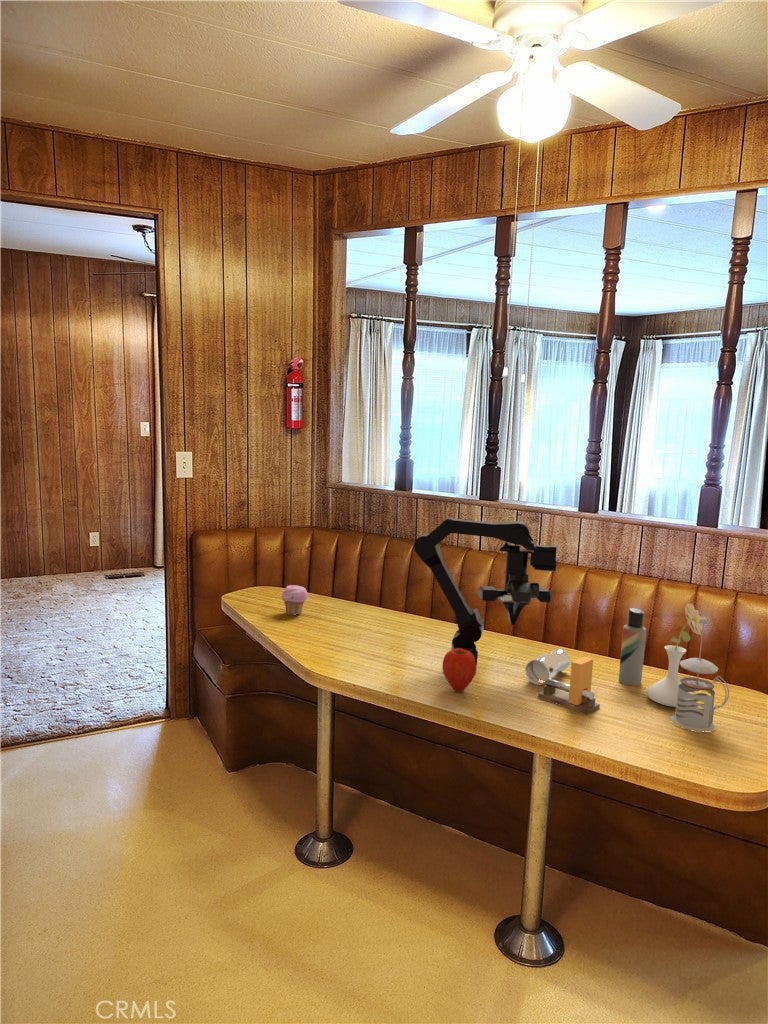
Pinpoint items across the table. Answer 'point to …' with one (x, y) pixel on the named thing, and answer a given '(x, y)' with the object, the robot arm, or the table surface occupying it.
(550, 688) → the pipe board
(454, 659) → the red strawberry
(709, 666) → the french press
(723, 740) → the table surface
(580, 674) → the collar
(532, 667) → the beer glass
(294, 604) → the cupcake
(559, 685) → the steel pipe
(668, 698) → the flower in vase
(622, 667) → the lotion bottle
